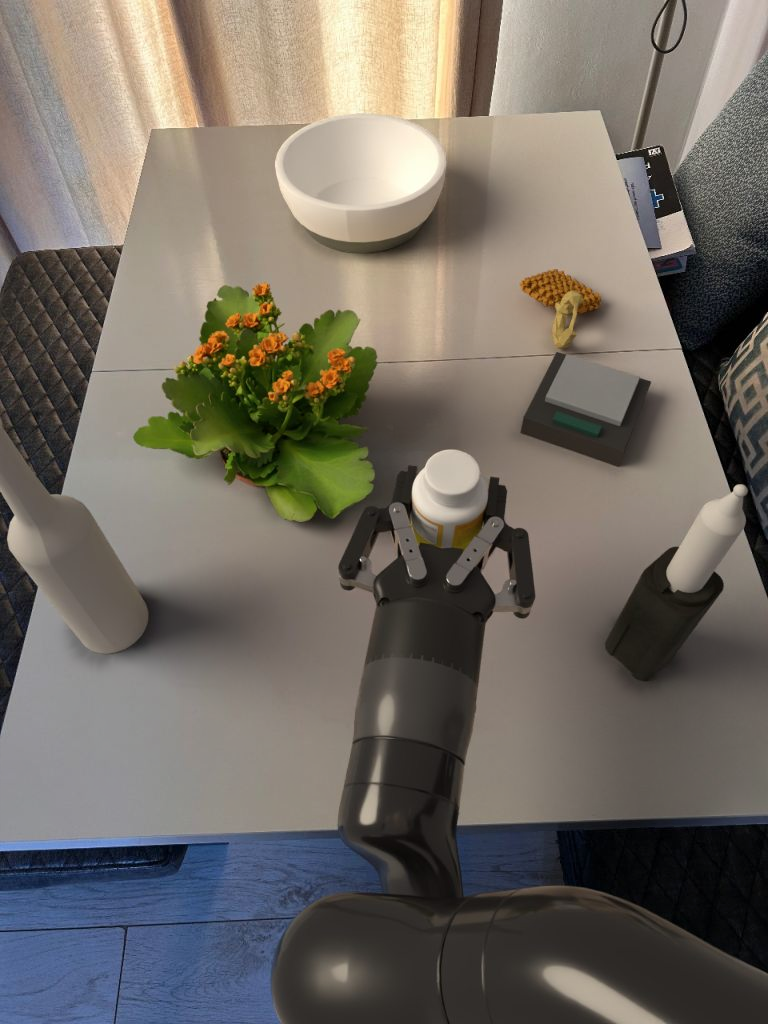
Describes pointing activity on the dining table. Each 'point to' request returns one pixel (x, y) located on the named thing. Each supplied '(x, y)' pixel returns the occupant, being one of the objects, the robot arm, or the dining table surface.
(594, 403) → the scale
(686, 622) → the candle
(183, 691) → the dining table surface
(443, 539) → the supplement bottle
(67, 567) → the bottle
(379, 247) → the bowl
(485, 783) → the dining table surface
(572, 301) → the ornament
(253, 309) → the potted flower
